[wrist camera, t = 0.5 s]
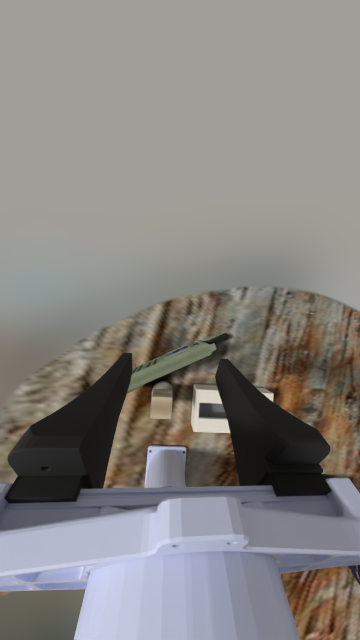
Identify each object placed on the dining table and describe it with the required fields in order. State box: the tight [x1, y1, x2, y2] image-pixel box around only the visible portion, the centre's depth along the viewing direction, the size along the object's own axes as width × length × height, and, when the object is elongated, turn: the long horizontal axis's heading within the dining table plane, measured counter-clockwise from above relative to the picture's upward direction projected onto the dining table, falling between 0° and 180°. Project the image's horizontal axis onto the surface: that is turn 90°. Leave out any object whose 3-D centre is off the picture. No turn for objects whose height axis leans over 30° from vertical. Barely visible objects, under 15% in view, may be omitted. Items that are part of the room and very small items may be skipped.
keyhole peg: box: [150, 381, 173, 419], centre depth 32 cm, size 4×4×8 cm
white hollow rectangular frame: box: [191, 384, 273, 433], centre depth 34 cm, size 16×8×4 cm, turn 85°
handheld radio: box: [127, 333, 228, 393], centre depth 33 cm, size 7×3×25 cm
